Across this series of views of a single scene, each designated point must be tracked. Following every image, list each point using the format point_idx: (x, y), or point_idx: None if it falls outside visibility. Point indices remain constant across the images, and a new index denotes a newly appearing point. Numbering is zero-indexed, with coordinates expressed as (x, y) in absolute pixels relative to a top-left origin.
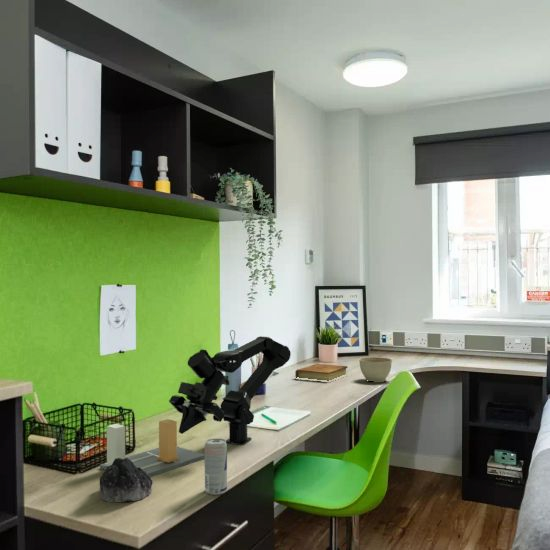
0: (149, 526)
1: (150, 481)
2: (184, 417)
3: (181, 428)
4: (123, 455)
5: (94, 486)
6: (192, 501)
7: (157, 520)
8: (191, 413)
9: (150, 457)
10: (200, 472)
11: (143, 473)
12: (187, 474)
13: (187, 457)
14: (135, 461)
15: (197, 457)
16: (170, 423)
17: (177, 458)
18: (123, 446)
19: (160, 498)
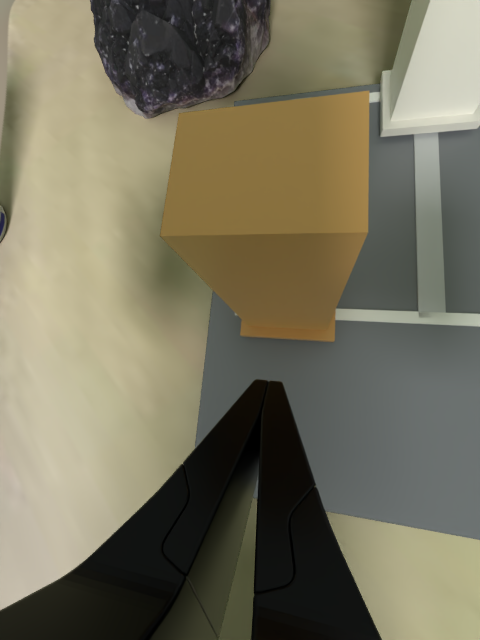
0: (14, 23)
1: (132, 91)
2: (270, 528)
3: (253, 397)
4: (403, 72)
5: (318, 9)
6: (2, 148)
7: (15, 45)
8: (79, 596)
9: (403, 278)
10: (106, 317)
11: (129, 40)
12: (134, 272)
13: (239, 394)
14: (410, 195)
15: (198, 424)
16: (176, 149)
17: (241, 323)
18: (421, 13)
19: (81, 104)
